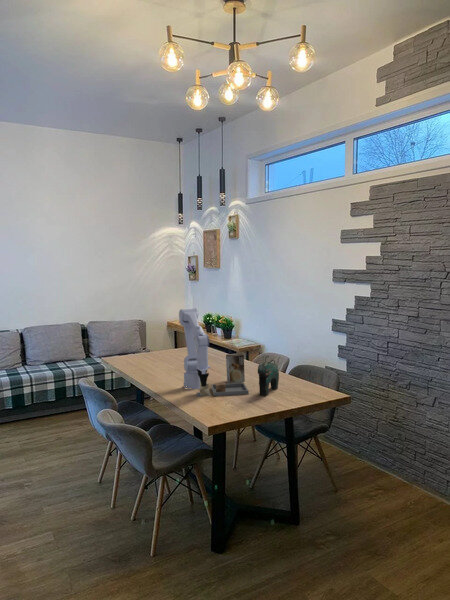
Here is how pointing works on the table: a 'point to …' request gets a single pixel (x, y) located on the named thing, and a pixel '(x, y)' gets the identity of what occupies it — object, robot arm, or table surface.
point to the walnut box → (220, 387)
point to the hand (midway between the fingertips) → (203, 384)
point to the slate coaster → (202, 395)
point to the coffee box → (235, 368)
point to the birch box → (204, 389)
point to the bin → (231, 389)
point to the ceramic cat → (268, 376)
